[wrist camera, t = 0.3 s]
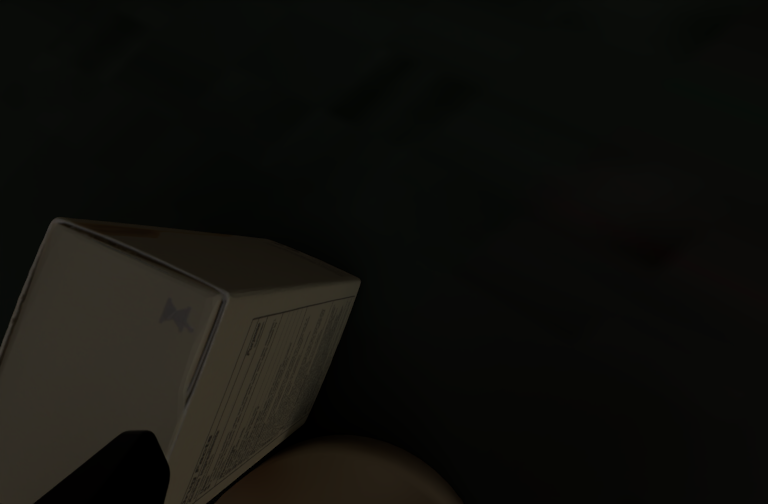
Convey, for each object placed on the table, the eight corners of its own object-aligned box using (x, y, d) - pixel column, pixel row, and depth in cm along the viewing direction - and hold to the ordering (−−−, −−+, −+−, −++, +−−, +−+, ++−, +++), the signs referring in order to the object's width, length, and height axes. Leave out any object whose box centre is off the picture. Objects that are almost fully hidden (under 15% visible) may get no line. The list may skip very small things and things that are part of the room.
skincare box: (265, 236, 25) (52, 194, 13) (366, 279, 24) (240, 277, 12) (203, 388, 25) (-64, 486, 13) (302, 436, 24) (114, 586, 12)
